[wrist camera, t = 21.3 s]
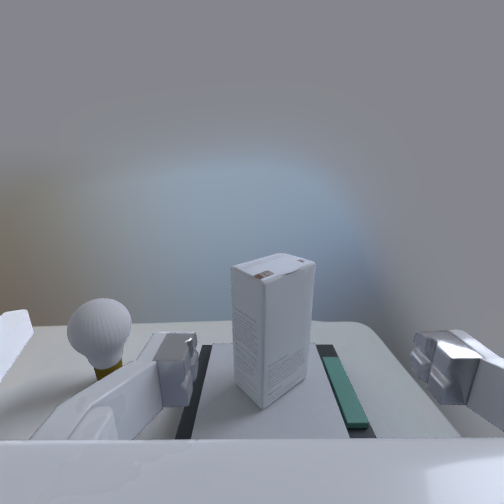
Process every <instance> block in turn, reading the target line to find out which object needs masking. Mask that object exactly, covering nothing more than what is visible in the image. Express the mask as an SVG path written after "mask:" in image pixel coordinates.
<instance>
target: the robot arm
mask: <svg viewBox="0 0 504 504" xmlns="http://www.w3.org/2000/svg"><path fill="white" fill-rule="evenodd" d="M413 341H414V343H415V345H416V347H415V348H414V349H413V350H412V351H411V356H410V362H411V367H412V369H413V371H414V373H415V374H416V376H417V377H418V378H419V379H421V380H422V381H424V382H425V383H427V389H428V391H429V392H430V393H431V394H432V395H433V397H434V398H435V399H436V400H437V402H438V403H439V404H440V405H467V407H468V408H469V409H471V410H472V411H474V412H475V413H477V414H478V415H480V416H481V417H483V418H484V419H486V420H487V421H488V422H490V423H491V424H493V425H494V426H496V427H497V428H499V429H500V430H502V431H503V432H504V358H500V357H498V356H497V355H496V354H494V353H493V352H492V351H490V350H489V349H487V348H486V347H485V346H484V345H482V344H481V343H479V342H478V341H477V340H475V339H474V338H473V337H471V336H470V335H469V334H467V333H466V332H465V331H462V330H445V331H417V332H416V333H415V335H414V339H413ZM196 345H197V335H196V333H194V332H169V333H168V332H155V333H153V334H152V336H151V337H150V339H149V341H148V342H147V344H146V345H145V347H144V349H143V350H142V352H141V353H140V355H139V356H138V358H137V360H136V361H131V362H129V363H127V364H126V365H124V366H122V367H121V368H119V369H117V370H116V371H114V372H112V373H111V374H109V375H107V376H106V377H104V378H102V379H101V380H99V381H97V382H96V383H94V384H92V385H91V386H89V387H87V388H86V389H84V390H82V391H81V392H79V393H77V394H76V395H74V396H72V397H71V398H69V399H67V400H66V401H64V402H62V403H61V404H59V405H58V406H57V407H56V408H55V409H54V410H53V412H52V413H51V414H50V415H49V416H48V417H47V419H46V420H45V421H44V422H43V423H42V425H41V426H40V427H39V428H38V429H37V430H36V432H35V433H34V434H33V435H32V436H31V438H30V439H29V440H0V504H504V438H342V439H181V440H133V439H134V438H135V437H136V436H137V435H138V434H139V433H140V432H141V431H142V430H143V429H144V428H145V427H146V426H147V425H148V424H149V423H150V422H151V421H152V419H153V418H154V417H155V416H156V415H157V414H158V413H159V412H160V411H161V410H162V409H163V407H183V406H189V403H190V399H191V396H192V392H193V384H192V383H193V382H194V381H195V380H196V377H197V373H198V365H199V358H198V352H197V351H196V350H195V348H196Z"/></svg>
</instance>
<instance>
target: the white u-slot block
mask: <svg viewBox="0 0 504 504" xmlns="http://www.w3.org/2000/svg"><path fill="white" fill-rule="evenodd" d="M33 333H34V332H33V329H32V325H31V322H30V318H29V315H28V311H27V310H16V311H10V312H5V313H3V314H2V315H1V316H0V382H1V380H2V379H3V377H4V376H5V374H6V373H7V371H8V370H9V368H10V367H11V366H12V364H13V363H14V361H15V360H16V358H17V357H18V355H19V354H20V352H21V351H22V349H23V348H24V346H25V345H26V344H27V342H28V341H29V339H30V338H31V336H32V335H33Z"/></svg>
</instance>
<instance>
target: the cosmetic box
mask: <svg viewBox="0 0 504 504" xmlns="http://www.w3.org/2000/svg"><path fill="white" fill-rule="evenodd" d="M314 276H315V263H314V262H312V261H310V260H307V259H303V258H299V257H295V256H293V255H289V254H284V253H277V254H274V255H270V256H267V257H263V258H260V259H256V260H253V261H249V262H246V263H242V264H239V265H234V266H232V267H231V295H232V326H233V358H234V381H235V383H236V384H237V385H238V386H239V387H240V388H241V390H242V391H243V392H244V393H245V394H246V395H247V396H248V397H249V398H250V399H251V400H252V401H253V402H254V403H255V404H256V405H257V406H258V407H260V408H261V409H265V408H266V407H267V406H269V405H270V404H271V403H272V402H274V401H275V400H276V399H278V398H279V397H280V396H282V395H283V394H284V393H286V392H287V391H288V390H290V389H291V388H292V387H294V386H295V385H296V384H297V383H299V382H300V381H301V380H303V379H304V378H305V377H306V376H307V367H308V354H309V341H310V327H311V314H312V302H313V289H314Z"/></svg>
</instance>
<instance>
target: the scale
mask: <svg viewBox="0 0 504 504" xmlns="http://www.w3.org/2000/svg"><path fill="white" fill-rule="evenodd" d="M192 384H193V392H192V396H191V399H190V403H189V406H185V407H184V410H183V414H182V417H181V420H180V424H179V427H178V431H177V434H176V438H175V440H181V439H342V438H376V436H375V434H374V432H373V429H372V427H371V425H370V423H369V421H368V419H367V417H366V415H365V412H364V410H363V408H362V406H361V404H360V402H359V400H358V398H357V395H356V393H355V391H354V389H353V387H352V385H351V383H350V381H349V379H348V376H347V374H346V372H345V370H344V368H343V366H342V364H341V362H340V359H339V357H338V355H337V353H336V351H335V349H334V347H333V345H315V343H309V354H308V367H307V376H306V377H305V378H304V379H303V380H301V381H300V382H299V383H297V384H296V385H295V386H294V387H292V388H291V389H290V390H288V391H287V392H286V393H284V394H283V395H282V396H280V397H279V398H278V399H276V400H275V401H274V402H272V403H271V404H270V405H269V406H267V407H266V408H265V409H261V408H260V407H258V406H257V405H256V404H255V403H254V402H253V401H252V400H251V399H250V398H249V397H248V396H247V395H246V394H245V393H244V392H243V391H242V390H241V388H240V387H239V386H238V385H237V384H236V383H235V381H234V358H233V343H213V345H202V348H201V352H200V355H199V365H198V373H197V377H196V380H195V381H194V382H193V383H192Z"/></svg>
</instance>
